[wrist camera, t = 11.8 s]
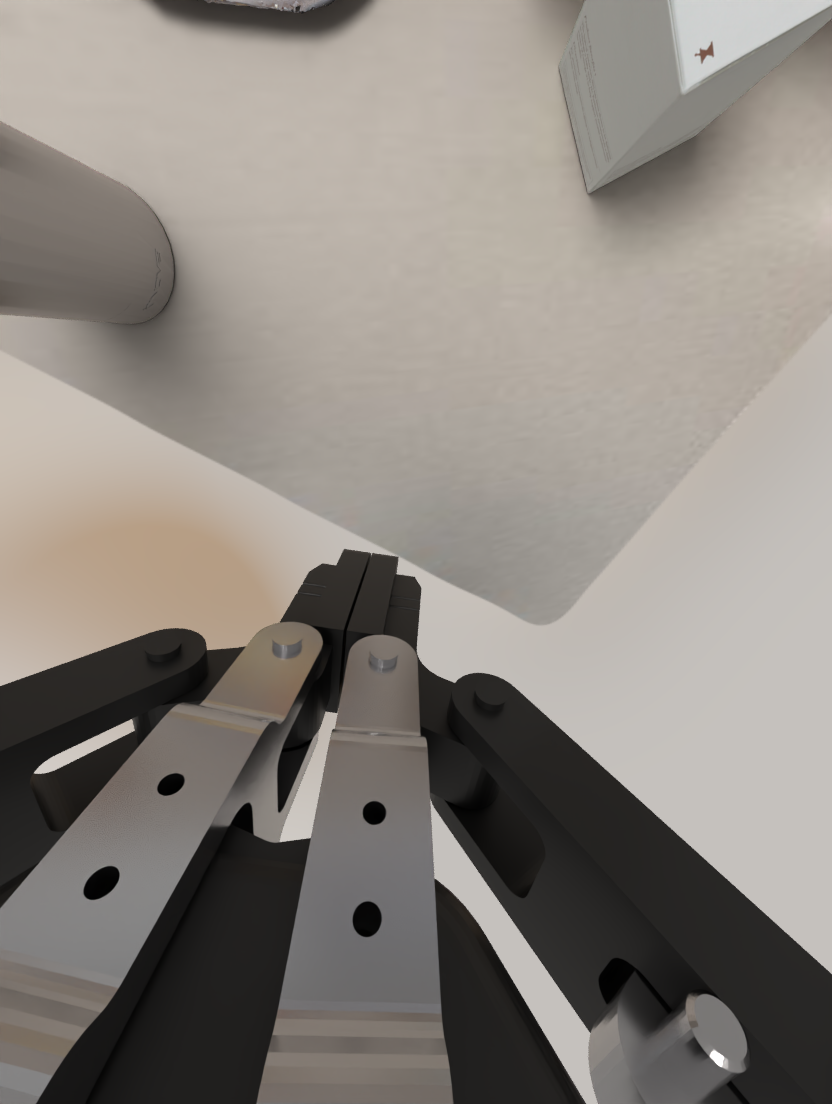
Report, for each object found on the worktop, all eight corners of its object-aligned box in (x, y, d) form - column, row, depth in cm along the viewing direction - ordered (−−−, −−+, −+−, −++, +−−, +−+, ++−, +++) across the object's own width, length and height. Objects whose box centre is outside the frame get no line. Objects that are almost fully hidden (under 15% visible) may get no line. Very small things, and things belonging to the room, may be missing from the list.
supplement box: (699, 136, 27) (885, -16, 16) (584, 197, 29) (678, 100, 17) (680, -18, 24) (891, -337, 13) (554, 60, 26) (643, -164, 15)
